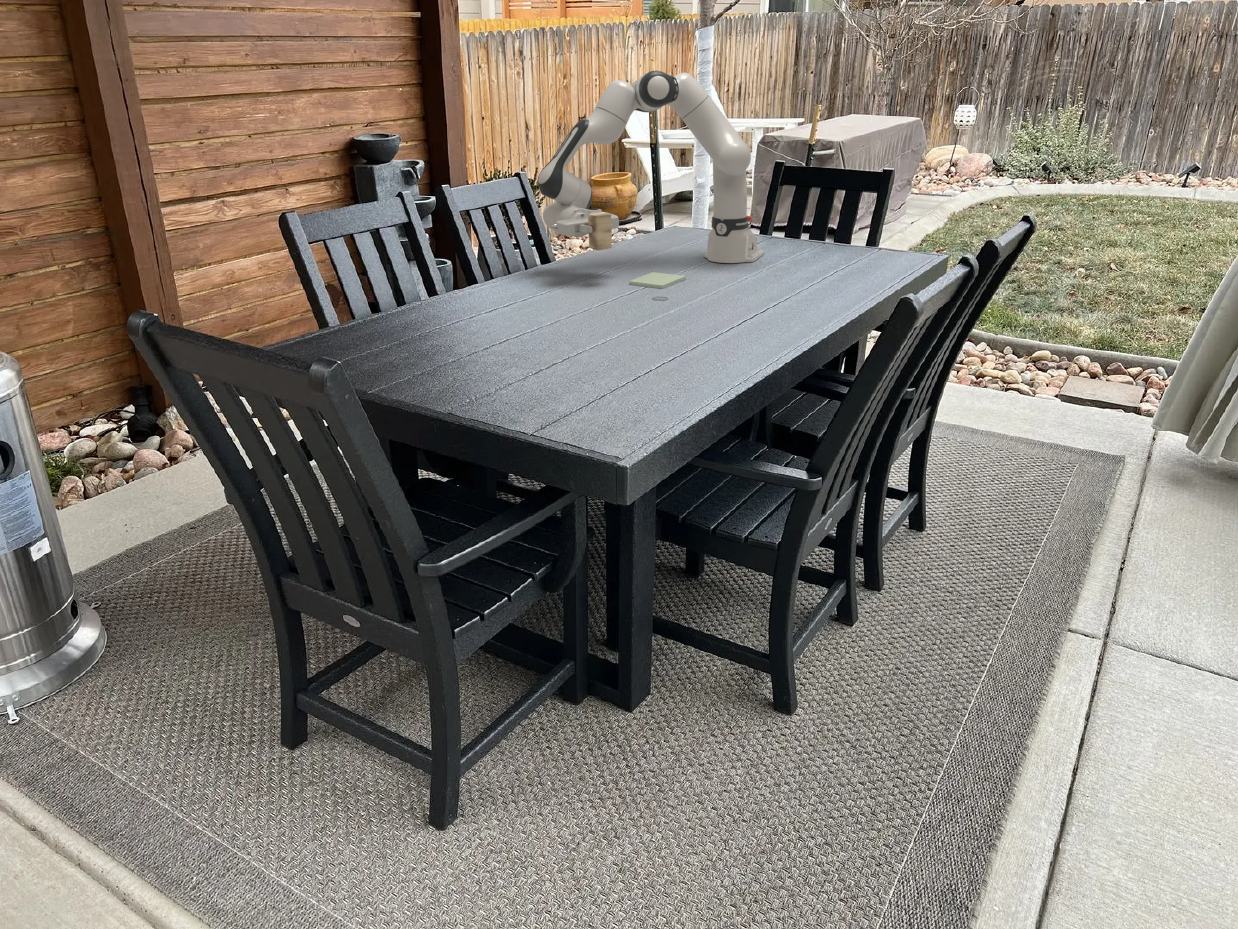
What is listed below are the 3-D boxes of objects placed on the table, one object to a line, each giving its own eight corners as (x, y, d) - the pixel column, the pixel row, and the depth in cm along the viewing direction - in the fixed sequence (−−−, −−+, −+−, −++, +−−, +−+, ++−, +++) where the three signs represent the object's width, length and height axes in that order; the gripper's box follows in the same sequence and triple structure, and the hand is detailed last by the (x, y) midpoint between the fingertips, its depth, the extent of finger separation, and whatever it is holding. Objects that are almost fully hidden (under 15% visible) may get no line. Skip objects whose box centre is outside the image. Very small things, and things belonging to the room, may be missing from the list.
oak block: (589, 247, 280) (587, 214, 276) (602, 245, 283) (601, 212, 279) (598, 250, 276) (597, 216, 272) (611, 248, 279) (611, 214, 275)
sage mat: (652, 275, 292) (652, 272, 292) (685, 279, 286) (685, 276, 286) (628, 284, 282) (628, 281, 281) (662, 288, 276) (662, 285, 275)
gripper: (547, 215, 280) (571, 221, 270) (603, 208, 291) (628, 213, 280) (548, 236, 283) (572, 243, 272) (604, 228, 293) (629, 234, 283)
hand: (601, 228), depth 276 cm, fingers closed on oak block, 5 cm apart
